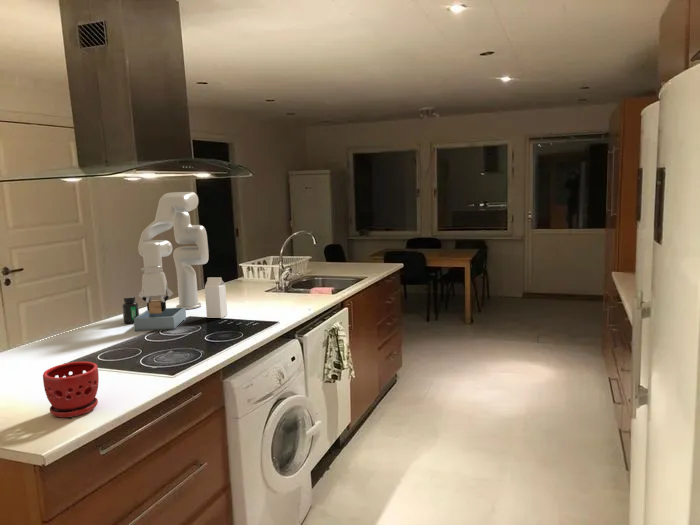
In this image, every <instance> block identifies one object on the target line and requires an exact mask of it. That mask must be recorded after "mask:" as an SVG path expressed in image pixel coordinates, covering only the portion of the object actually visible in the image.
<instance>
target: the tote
mask: <svg viewBox="0 0 700 525" xmlns="http://www.w3.org/2000/svg"><path fill="white" fill-rule="evenodd" d="M186 310H187V309H185V307H182V308H176V307H166V309H165V311H164V312H162V313H157V314H149V311H148V310H147V309H146V310H144V312H142V313H139V316H137V317H136V318H134V324H133V325H134V332H147V331H148V332H149V331H166V329H171V330H176V329H177V328H178V327H179V326H180V325H181V324H182V323H183V322H184V321H186V320H187V312H186ZM183 320H184V321H183ZM182 321H183V322H182ZM181 322H182V323H181ZM180 323H181V324H180ZM179 324H180V325H179ZM178 325H179V326H178ZM177 326H178V327H177ZM176 327H177V328H176ZM175 328H176V329H175Z"/></svg>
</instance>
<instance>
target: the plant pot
mask: <svg viewBox="0 0 700 525" xmlns="http://www.w3.org/2000/svg"><path fill="white" fill-rule="evenodd" d="M84 371H85V372H84ZM70 373H72V374H70ZM56 376H58V377H56ZM42 381H43V388H44V392H45V395H46V398H47V400H48V402H49V404H50V405H51V406H50V407H49V412H50V414H51V415H53V416H55V417H58V418H73V417H74V418H75V417H78V416H81V415H84V414H88V413H89V412H91V411H92V410H94V409H95V408H96V407H97V406H98V403H99V401H98V398H97V397H96V396H97V393H98V389H99V383H100V382H99V381H100V379H99V369H98V364H96V363H94V362H92V361H72V362H66V363H63V364H62V363H61V364H58V365H55V366H53V367H50V368H48V369H47V370H45V371H44V372H43V373H42Z"/></svg>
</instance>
